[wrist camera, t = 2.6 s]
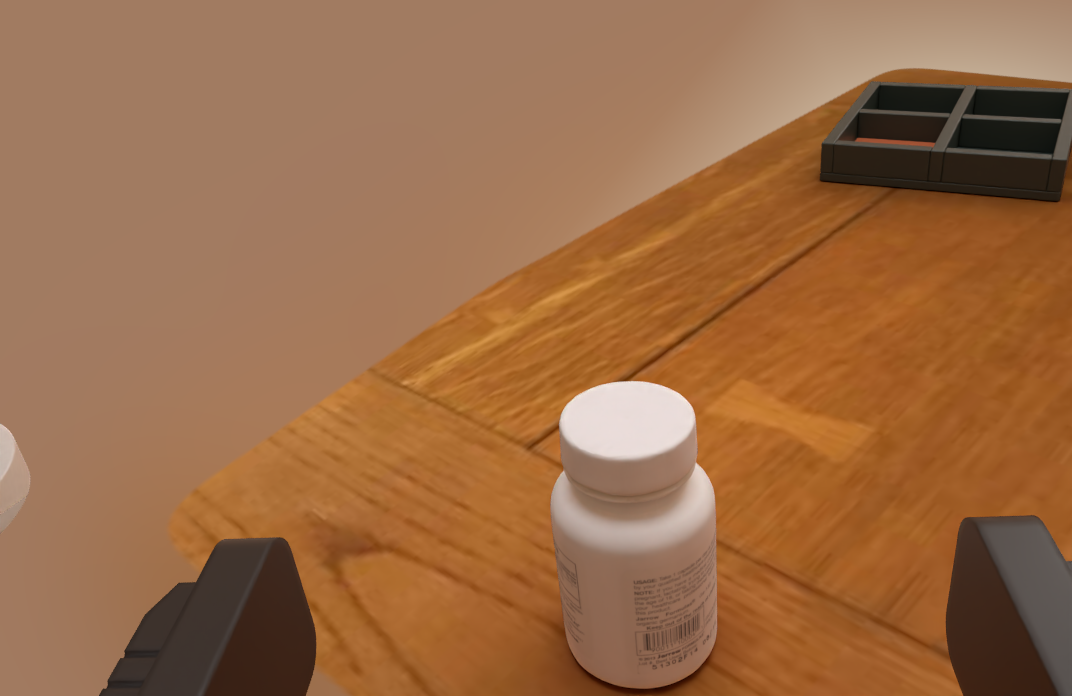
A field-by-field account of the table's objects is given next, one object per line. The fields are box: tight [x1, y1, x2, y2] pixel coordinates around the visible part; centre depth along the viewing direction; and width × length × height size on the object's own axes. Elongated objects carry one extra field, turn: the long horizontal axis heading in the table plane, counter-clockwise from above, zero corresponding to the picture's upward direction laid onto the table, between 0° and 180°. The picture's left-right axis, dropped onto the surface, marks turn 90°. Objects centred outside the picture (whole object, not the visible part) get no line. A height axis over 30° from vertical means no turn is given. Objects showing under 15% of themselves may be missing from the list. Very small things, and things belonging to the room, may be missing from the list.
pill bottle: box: [550, 381, 717, 689], centre depth 26 cm, size 4×4×8 cm
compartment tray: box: [820, 82, 1072, 201], centre depth 57 cm, size 12×12×2 cm
